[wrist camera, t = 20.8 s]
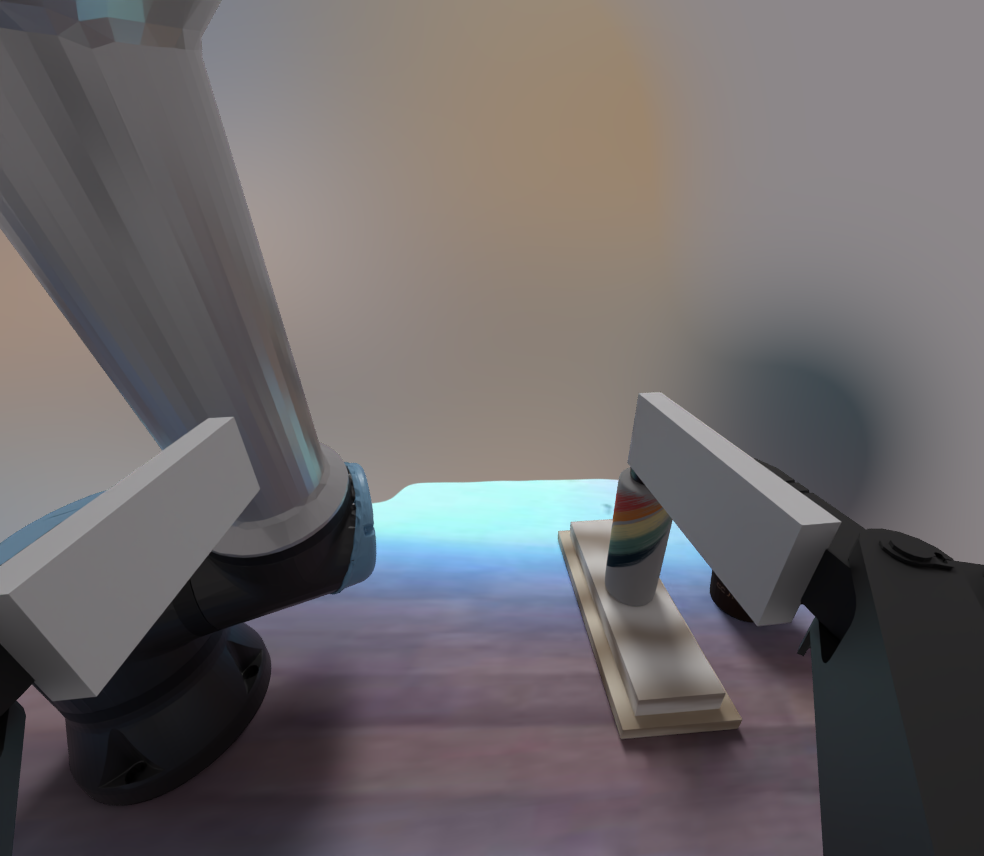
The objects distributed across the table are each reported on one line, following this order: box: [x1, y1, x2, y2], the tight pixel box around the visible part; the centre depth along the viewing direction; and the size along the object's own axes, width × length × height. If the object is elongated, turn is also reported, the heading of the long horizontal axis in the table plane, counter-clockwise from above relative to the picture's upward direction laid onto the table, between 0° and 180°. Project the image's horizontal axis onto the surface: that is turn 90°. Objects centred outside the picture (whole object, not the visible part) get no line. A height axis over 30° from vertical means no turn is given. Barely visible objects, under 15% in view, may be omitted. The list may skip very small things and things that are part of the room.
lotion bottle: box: [605, 467, 673, 606], centre depth 40 cm, size 6×6×20 cm
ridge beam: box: [558, 519, 742, 739], centre depth 45 cm, size 26×11×4 cm, turn 4°
